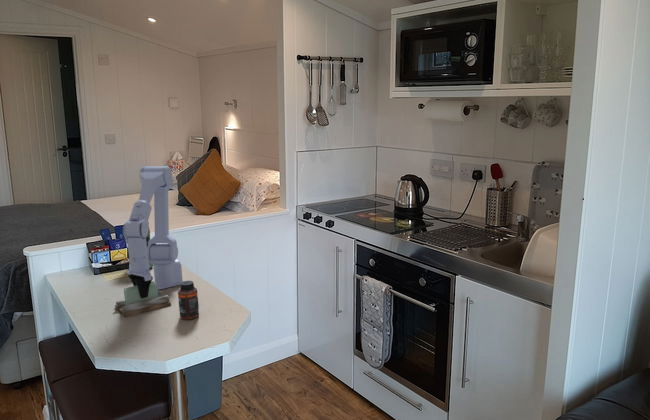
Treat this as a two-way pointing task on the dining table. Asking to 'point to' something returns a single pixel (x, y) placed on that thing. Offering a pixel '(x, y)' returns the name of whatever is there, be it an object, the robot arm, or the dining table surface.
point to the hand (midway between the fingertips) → (142, 296)
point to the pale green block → (134, 296)
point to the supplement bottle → (188, 300)
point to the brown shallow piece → (142, 305)
